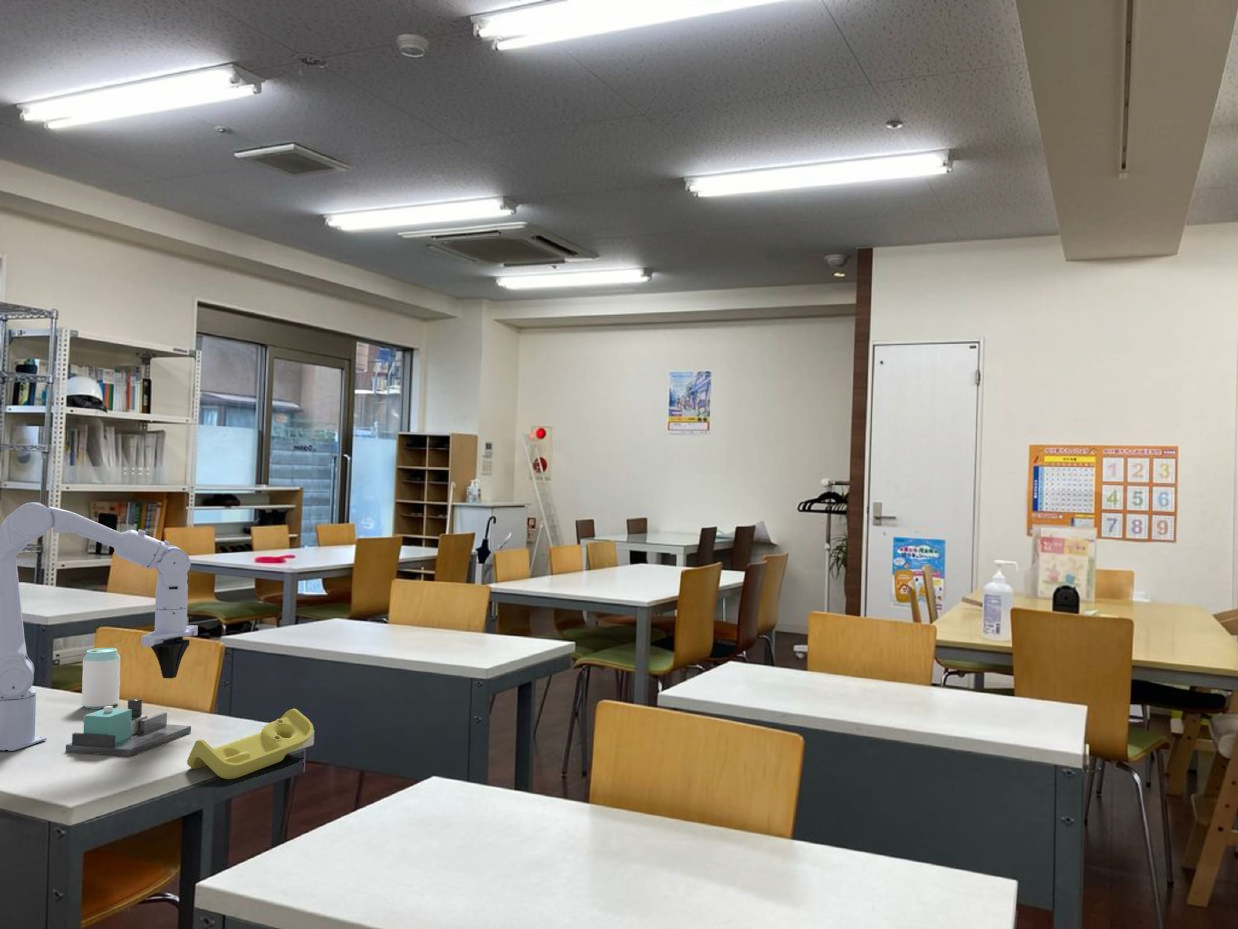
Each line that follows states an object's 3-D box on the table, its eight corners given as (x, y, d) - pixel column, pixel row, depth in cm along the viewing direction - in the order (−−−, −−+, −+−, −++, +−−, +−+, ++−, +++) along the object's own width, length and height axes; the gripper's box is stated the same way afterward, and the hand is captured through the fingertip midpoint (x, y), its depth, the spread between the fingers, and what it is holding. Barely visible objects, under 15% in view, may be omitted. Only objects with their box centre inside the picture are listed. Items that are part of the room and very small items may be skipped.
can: (85, 711, 199) (87, 653, 199) (78, 705, 204) (80, 649, 204) (122, 706, 203) (124, 650, 203) (114, 700, 208) (116, 646, 209)
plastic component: (229, 768, 154) (193, 734, 158) (218, 805, 155) (182, 770, 160) (324, 733, 171) (289, 702, 175) (313, 766, 173) (278, 735, 177)
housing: (83, 743, 170) (84, 709, 170) (106, 735, 176) (107, 702, 176) (107, 745, 169) (109, 711, 169) (131, 736, 175) (131, 704, 175)
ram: (109, 734, 176) (110, 704, 176) (129, 727, 181) (129, 698, 181) (129, 735, 175) (129, 705, 175) (147, 728, 180) (148, 699, 180)
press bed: (65, 751, 169) (66, 731, 169) (130, 728, 186) (131, 709, 186) (130, 756, 167) (131, 736, 167) (190, 732, 184) (191, 713, 184)
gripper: (165, 613, 179) (163, 686, 178) (211, 604, 193) (210, 671, 193) (132, 612, 180) (130, 684, 180) (180, 603, 194) (178, 669, 194)
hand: (169, 677), depth 186 cm, fingers closed
